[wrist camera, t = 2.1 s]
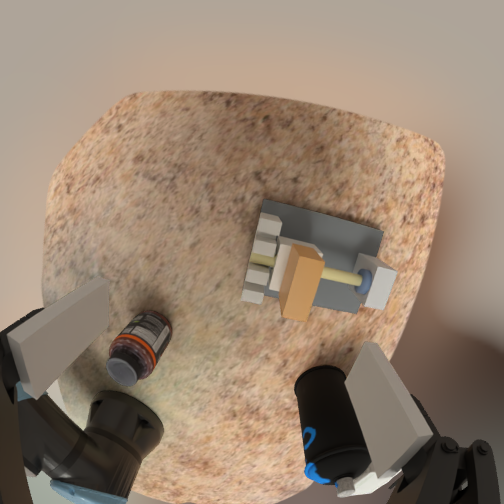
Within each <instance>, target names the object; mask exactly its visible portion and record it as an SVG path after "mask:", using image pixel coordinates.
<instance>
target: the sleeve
mask: <svg viewBox="0 0 504 504" xmlns="http://www.w3.org/2000/svg"><path fill="white" fill-rule="evenodd" d="M276 243H277V246H276V250H275V254H274V255H276V259H275V263H274V267H271V266H270V270H269V277H268V282H269V289H270V290H275V291H279V301H280V308H281V316H282V317H283V318H288V319H293V320H298V321H303V322H306V321H307V318H308V315H309V312H310V309H311V306H312V303H313V300H314V297H315V294H316V291H317V288H318V285H319V281H320V278H321V275H322V272H323V268H324V265H325V261H324V260H323V259H322V256H323V253H322V252H321V251H320V250H319V249H318V248H317V247H316V246H315V245H314V244H311V243H306V242H302V241H298V240H294V239H290V238H286V237H282V236H278V238H277V242H276Z"/></svg>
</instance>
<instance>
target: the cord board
mask: <svg viewBox="0 0 504 504" xmlns="http://www.w3.org/2000/svg"><path fill="white" fill-rule="evenodd" d="M383 233H384V231H381V230H378V229H375V228H372V227H368V226H365V225H362V224H358V223H355V222H351V221H348V220H344V219H341V218H337V217H334V216H330V215H326V214H323V213H319V212H315V211H312V210H308V209H304V208H300V207H296V206H292V205H288V204H284V203H280V202H276V201H272V200H268V199H264V200H263V204H262V208H261V212H260V217H259V221H258V225H257V229H256V234H255V238H254V242H253V246H252V251H251V255H250V259H249V263H248V268H247V272H246V276H245V280H244V285H243V289H242V290H243V292H242V297H241V300H242V301H246V302H251V303H255V304H259V305H261V304H262V300H263V296H264V295H265V296H270V297H274V298H279V291H275V290H270V289H269V282H268V277H269V270H270V266H271V267H274V263H275V259H276V255H274V254H275V250H276V246H277V243H276V242H277V238H278V236H282V237H286V238H290V239H294V240H298V241H302V242H306V243H311V244H314V245H315V246H316V247H317V248H318V249H319V250H320V251H321V252H322V253H323V256H322V259H323V260H324V261H325V265H324V268H323V272H322V275H321V278H320V281H319V285H318V288H317V291H316V294H315V297H314V300H313V303H312V305H313V306H318V307H323V308H328V309H333V310H338V311H344V312H349V313H354V314H357V312H358V309H359V307H360V304H361V303H362V305H363V306H364V307H370V308H375V309H380V310H384V308H385V305H386V303H387V300H388V297H389V295H390V292H391V289H392V286H393V284H394V281H395V278H396V275H397V272H398V271H396V270H395V269H393V268H392V267H390V266H389V265H387V264H386V263H384V262H383V261H381V260H380V259H378V258H376V257H377V253H378V250H379V247H380V243H381V240H382V236H383Z"/></svg>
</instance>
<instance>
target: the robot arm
mask: <svg viewBox="0 0 504 504" xmlns="http://www.w3.org/2000/svg"><path fill="white" fill-rule="evenodd" d="M109 286H110V280H108V279H105V278H102V277H99V276H97V277H95V278H94V279H92V280H90V281H89V282H87V283H85V284H84V285H82V286H80V287H79V288H77V289H75V290H74V291H72V292H71V293H69V294H67V295H66V296H64V297H62V298H61V299H59V300H58V301H56V302H55V303H53V304H51V305H50V306H48V307H47V308H40V309H36V310H33V311H32V312H30V313H29V314H27V315H26V317H25V316H24V317H22V318H21V319H20V320H18V321H16V322H15V323H14V324H12V325H10V326H9V327H7V328H6V329H4V330H3V331H1V332H0V504H33V501H32V497H31V494H30V490H29V486H28V482H27V477H26V476H29V477H36V476H37V475H38V474H39V473H40V471H44V472H45V473H46V474H47V475H48V476H49V477H51V478H52V480H51V481H50V483H51V484H50V486H51V488H52V489H53V490H55V491H56V492H57V493H58V494H60V495H61V496H63V497H64V498H66V499H68V500H69V501H72V502H73V503H75V504H126V502H127V501H128V496H129V493H130V491H131V488H132V486H133V483H134V481H135V478H136V475H137V473H138V470H139V468H140V465H141V463H142V460H143V459H144V458H145V457H146V456H147V455H148V454H149V453H150V452H151V451H152V450H153V449H154V448H155V447H156V446H157V445H158V444H159V443H160V441H161V438H162V436H163V432H164V430H163V426H162V424H161V422H160V420H159V419H158V417H157V416H156V415H155V414H154V413H153V412H152V411H151V410H150V409H149V408H148V407H146V406H145V405H144V404H142V403H141V402H139V401H137V400H136V399H134V398H132V397H130V396H128V395H125V394H123V393H119V392H115V391H102V392H100V393H98V394H97V395H96V397H95V398H94V400H93V401H92V403H91V405H90V410H89V415H88V420H87V426H86V428H85V429H84V431H83V430H82V429H81V428H80V427H79V426H78V425H76V424H75V423H74V422H73V421H72V420H71V419H70V418H69V417H68V416H67V415H66V414H65V413H64V412H63V411H62V410H61V409H60V408H59V407H58V406H57V405H56V403H55V402H54V401H53V400H52V399H51V398H50V397H49V396H48V393H47V392H46V390H47V389H48V388H49V387H50V385H51V384H52V383H53V382H54V381H55V380H56V379H57V378H58V377H59V376H60V375H61V374H62V373H63V372H64V371H65V370H66V369H67V368H68V367H69V366H70V365H71V364H72V362H73V361H74V360H75V359H76V358H77V357H78V356H79V355H80V354H81V353H82V352H83V351H84V350H85V349H86V348H87V347H88V346H89V345H90V344H91V343H92V342H93V341H94V340H95V339H96V338H97V337H98V336H99V335H100V334H102V333H103V332H104V331H105V330H106V329H107V328H108V327H109ZM344 383H345V385H346V388H347V391H348V393H349V396H350V399H351V402H352V404H353V407H354V410H355V413H356V416H357V418H358V421H359V424H360V427H361V430H362V433H363V436H364V439H365V442H366V445H367V448H368V451H369V454H370V457H371V460H372V463H373V466H374V469H375V472H376V475H377V479H382V478H388V477H393V476H394V475H395V474H396V473H397V472H398V471H400V470H401V469H402V471H403V473H404V474H403V475H402V476H401V477H400V478H399V479H398V480H397V481H395V482H394V483H393V484H392V485H391V486H390V487H389V489H391V488H393V487H394V486H395V488H394V490H393V492H392V494H391V496H390V499H389V500H388V502H387V504H500V494H499V485H498V479H497V472H496V466H495V461H494V456H493V452H492V449H491V447H490V445H489V444H488V443H487V442H486V441H483V440H476V441H474V442H473V443H472V444H471V446H470V447H469V448H462V447H459V445H458V444H457V442H456V441H455V440H453V439H452V438H450V437H446V436H445V437H441V436H440V434H439V432H438V431H437V429H436V427H435V426H434V424H433V423H432V421H431V419H430V417H428V414H427V412H426V411H425V410H424V408H423V406H422V404H421V403H420V401H419V400H418V399H417V398H416V397H414V396H413V395H412V394H409V392H408V391H407V389H406V387H405V386H404V384H403V383H402V381H401V379H400V378H399V376H398V375H397V373H396V371H395V370H394V368H393V367H392V365H391V364H390V362H389V361H388V359H387V357H386V356H385V354H384V353H383V351H382V350H381V348H380V347H379V345H378V344H377V343H373V342H366V341H365V342H364V344H363V346H362V348H361V351H360V353H359V355H358V357H357V359H356V361H355V363H354V365H353V367H352V369H351V371H350V373H349V375H348V377H347V379H346V380H345V382H344ZM466 481H468V486H467V487H466V488H465V489H463V490H462V485H463V484H464V483H465V482H466Z"/></svg>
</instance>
